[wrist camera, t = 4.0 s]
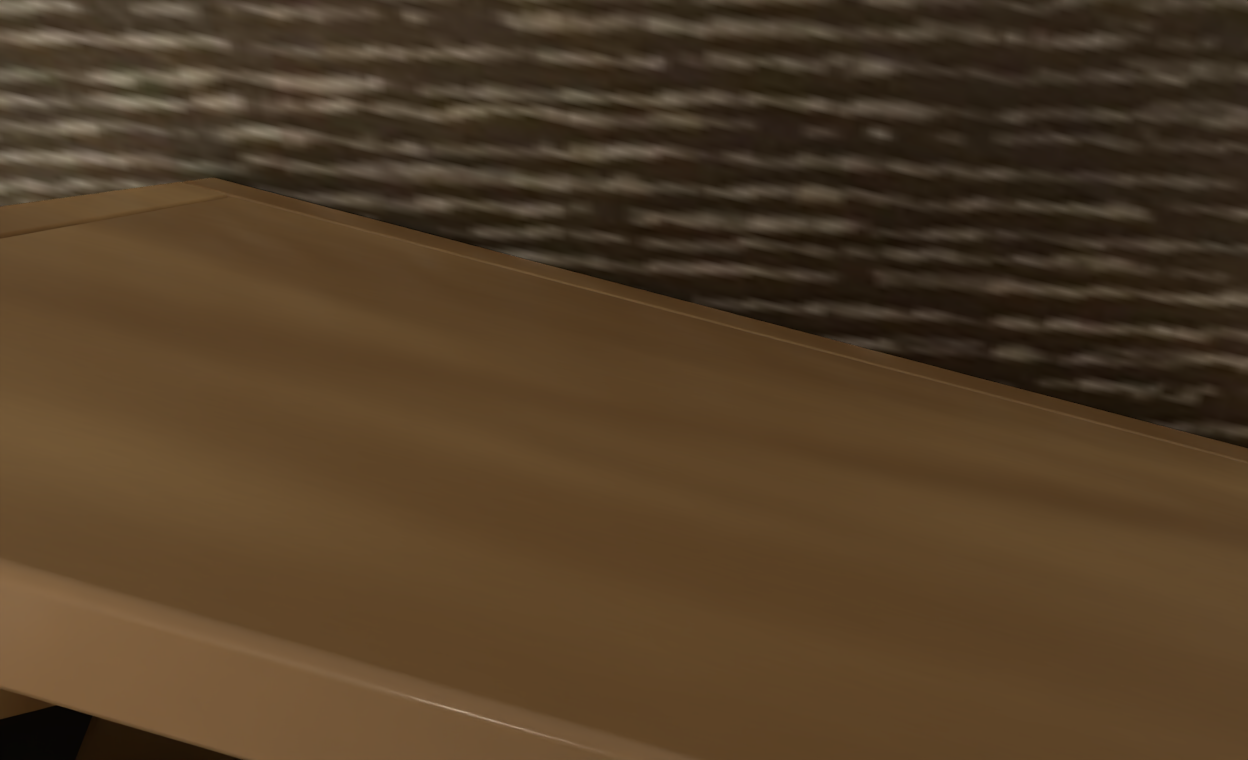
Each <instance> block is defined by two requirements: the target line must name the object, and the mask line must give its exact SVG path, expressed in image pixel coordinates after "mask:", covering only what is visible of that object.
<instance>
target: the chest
mask: <svg viewBox="0 0 1248 760" xmlns="http://www.w3.org/2000/svg"><path fill="white" fill-rule="evenodd" d="M55 705H58V706H61V707H65V708H68V709H71V710H75V711H78V712H82V713H85V714H88V715H92V716H95V717H99V718H102V719H106V720H109V721H112V722H116V723H119V724H123V725H126V726H130V727H133V728H136V729H140V730H143V731H147V732H150V733H153V734H157V735H160V736H164V737H167V738H171V739H174V740H177V741H181V742H184V743H188V744H191V745H194V746H198V747H201V748H205V749H208V750H212V751H215V752H218V753H222V754H225V755H229V756H232V757H235V758H239V759H242V760H1248V448H1244V447H1240V446H1237V445H1233V444H1229V443H1225V442H1221V441H1217V440H1214V439H1210V438H1206V437H1202V436H1198V435H1195V434H1191V433H1187V432H1183V431H1179V430H1175V429H1172V428H1168V427H1164V426H1160V425H1156V424H1153V423H1149V422H1145V421H1141V420H1137V419H1133V418H1130V417H1126V416H1122V415H1118V414H1114V413H1111V412H1107V411H1103V410H1099V409H1095V408H1091V407H1088V406H1084V405H1080V404H1076V403H1072V402H1069V401H1065V400H1061V399H1057V398H1053V397H1049V396H1046V395H1042V394H1038V393H1034V392H1030V391H1027V390H1023V389H1019V388H1015V387H1011V386H1008V385H1004V384H1000V383H996V382H992V381H988V380H985V379H981V378H977V377H973V376H969V375H966V374H962V373H958V372H954V371H950V370H946V369H943V368H939V367H935V366H931V365H927V364H924V363H920V362H916V361H912V360H908V359H904V358H901V357H897V356H893V355H889V354H885V353H882V352H878V351H874V350H870V349H866V348H862V347H859V346H855V345H851V344H847V343H843V342H840V341H836V340H832V339H828V338H824V337H820V336H817V335H813V334H809V333H805V332H801V331H798V330H794V329H790V328H786V327H782V326H778V325H775V324H771V323H767V322H763V321H759V320H756V319H752V318H748V317H744V316H740V315H737V314H733V313H729V312H725V311H721V310H717V309H714V308H710V307H706V306H702V305H698V304H695V303H691V302H687V301H683V300H679V299H675V298H672V297H668V296H664V295H660V294H656V293H653V292H649V291H645V290H641V289H637V288H633V287H630V286H626V285H622V284H618V283H614V282H611V281H607V280H603V279H599V278H595V277H591V276H588V275H584V274H580V273H576V272H572V271H569V270H565V269H561V268H557V267H553V266H549V265H546V264H542V263H538V262H534V261H530V260H527V259H523V258H519V257H515V256H511V255H507V254H504V253H500V252H496V251H492V250H488V249H485V248H481V247H477V246H473V245H469V244H466V243H462V242H458V241H454V240H450V239H446V238H443V237H439V236H435V235H431V234H427V233H424V232H420V231H416V230H412V229H408V228H404V227H401V226H397V225H393V224H389V223H385V222H382V221H378V220H374V219H370V218H366V217H362V216H359V215H355V214H351V213H347V212H343V211H340V210H336V209H332V208H328V207H324V206H320V205H317V204H313V203H309V202H305V201H301V200H298V199H294V198H290V197H286V196H282V195H278V194H275V193H271V192H267V191H263V190H259V189H256V188H252V187H248V186H244V185H240V184H236V183H233V182H229V181H225V180H221V179H217V178H214V177H213V178H206V179H199V180H191V181H184V182H182V183H181V182H175V183H168V184H160V185H153V186H146V187H139V188H131V189H124V190H117V191H109V192H102V193H95V194H88V195H80V196H73V197H66V198H59V199H51V200H44V201H37V202H29V203H22V204H15V205H8V206H0V719H4V718H8V717H12V716H16V715H20V714H24V713H28V712H32V711H36V710H39V709H43V708H47V707H51V706H55Z"/></svg>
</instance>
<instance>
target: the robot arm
mask: <svg viewBox="0 0 1248 760" xmlns="http://www.w3.org/2000/svg"><path fill="white" fill-rule="evenodd" d="M0 760H242V759H239V758H235V757H232V756H229V755H225V754H222V753H218V752H215V751H212V750H208V749H205V748H201V747H198V746H194V745H191V744H188V743H184V742H181V741H177V740H174V739H171V738H167V737H164V736H160V735H157V734H153V733H150V732H147V731H143V730H140V729H136V728H133V727H130V726H126V725H123V724H119V723H116V722H112V721H109V720H106V719H102V718H99V717H95V716H92V715H88V714H85V713H82V712H78V711H75V710H71V709H68V708H65V707H61V706H58V705H55V706H51V707H47V708H43V709H39V710H36V711H32V712H28V713H24V714H20V715H16V716H12V717H8V718H4V719H0Z"/></svg>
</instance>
